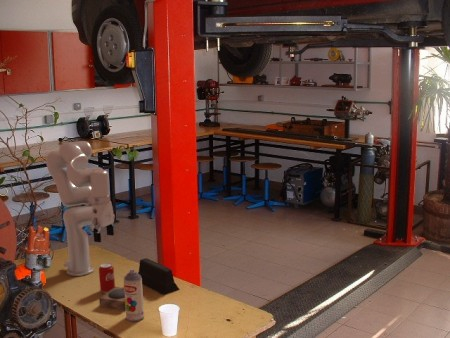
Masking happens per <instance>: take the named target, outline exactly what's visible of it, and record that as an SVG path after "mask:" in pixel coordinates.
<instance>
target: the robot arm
mask: <svg viewBox="0 0 450 338" xmlns="http://www.w3.org/2000/svg"><path fill="white" fill-rule="evenodd" d="M92 154H93V148H92V146H91V144H90V143H89V142H88V141H86V140H79V141H78V140H77V141H70V142H64V143H63V144H62V145H61V146H60V147H59V150H54V151H51V152H49V153H48V154H47V155H46V158H45V163H46V167H47V170H48V173H49V175H50V176H51V178H52V179H53V181H54V183H55V186H56V188H57V192H58V196H59V198H60V201H61V203H62V205H63V206H64V207H70V208H68V209H66V210H65V211H64V212H63V214H62V215H63V216H62V220H63V223H64V227H65V230H66V238H67V250H68V251H67V253H68V260H65V261H64V264H63V267H67V269H66V275H68V276H72V277H81V276H82V277H83V276H86V275H90V274H91V273H93V272H94V270H95V267H94V265H92V264H91V259H90V247H89V245H90V244H89V236H88V233H87V231H85V230H84V229H83V227H86V226H89V227H90V230H91V232H92V234H93V242H94V243H101V242H102V235H101V229H102V228H106V235H107V236H114V235H115V231H114V230H115V229H114V226H115V224H114V223H115V218H116V214H114V208H113V204H112V201H111V192H110V179H109V173H108V171H107V170H105V169H103V168H102V167H99V166H97V167H89V168H86V167H87V166H88V164H89V160H90V158H91V157H92ZM64 168H66V170H65V169H64Z"/></svg>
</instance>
